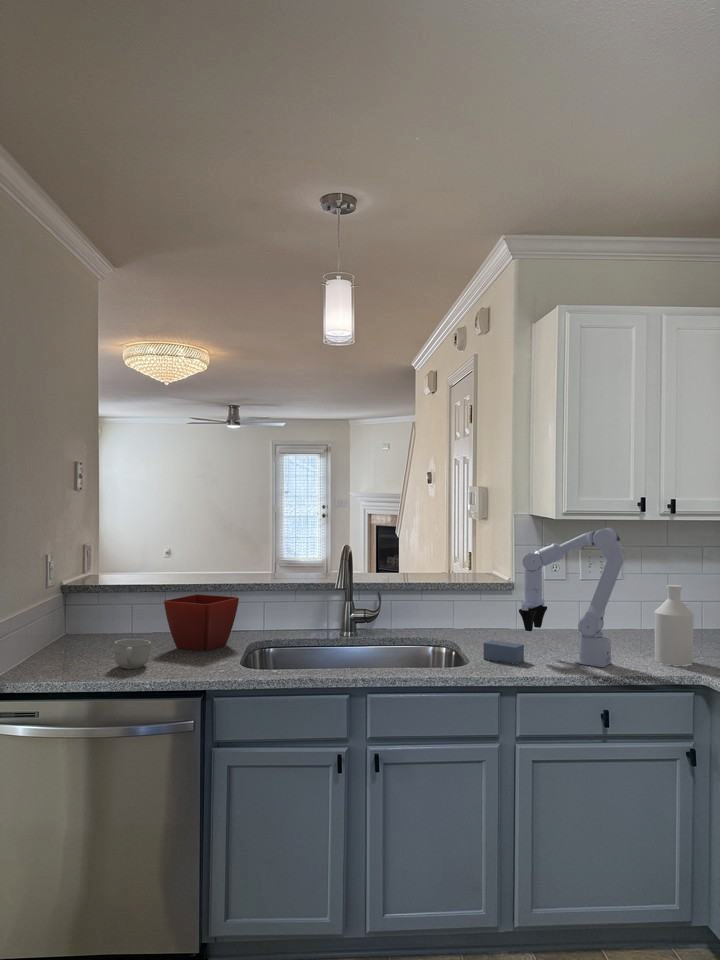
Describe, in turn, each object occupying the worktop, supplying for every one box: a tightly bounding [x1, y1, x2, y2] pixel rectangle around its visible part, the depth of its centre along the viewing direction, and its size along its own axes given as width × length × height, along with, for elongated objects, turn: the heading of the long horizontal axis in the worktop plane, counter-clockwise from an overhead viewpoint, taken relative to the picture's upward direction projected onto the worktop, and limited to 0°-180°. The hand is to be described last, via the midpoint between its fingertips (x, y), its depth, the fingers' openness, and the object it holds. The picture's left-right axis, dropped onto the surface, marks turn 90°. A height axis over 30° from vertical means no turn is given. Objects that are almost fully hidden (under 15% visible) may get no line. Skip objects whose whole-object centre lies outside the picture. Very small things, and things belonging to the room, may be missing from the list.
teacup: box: [113, 638, 152, 670], centre depth 232 cm, size 14×11×8 cm
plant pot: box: [163, 594, 240, 652], centre depth 263 cm, size 19×19×17 cm
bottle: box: [653, 584, 695, 665], centre depth 244 cm, size 12×12×25 cm
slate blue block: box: [483, 639, 525, 665], centre depth 245 cm, size 12×6×5 cm, turn 53°
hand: (533, 629), depth 252 cm, fingers open, 7 cm apart
